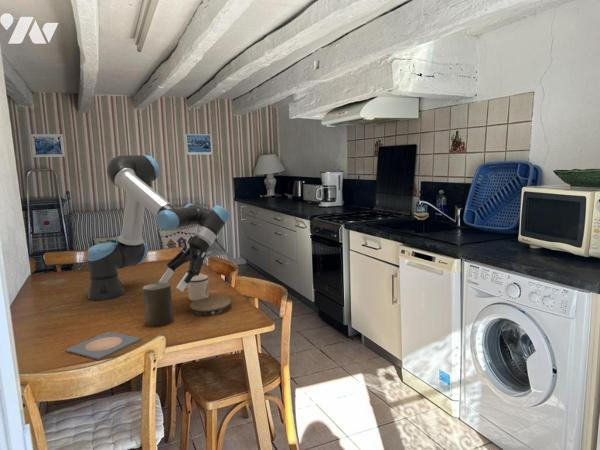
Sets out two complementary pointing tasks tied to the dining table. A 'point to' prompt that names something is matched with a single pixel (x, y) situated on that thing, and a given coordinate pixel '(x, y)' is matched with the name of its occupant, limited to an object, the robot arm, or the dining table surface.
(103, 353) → the mat
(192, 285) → the teacup with lid
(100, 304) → the dining table surface
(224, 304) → the wood log slice
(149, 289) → the pillar candle
